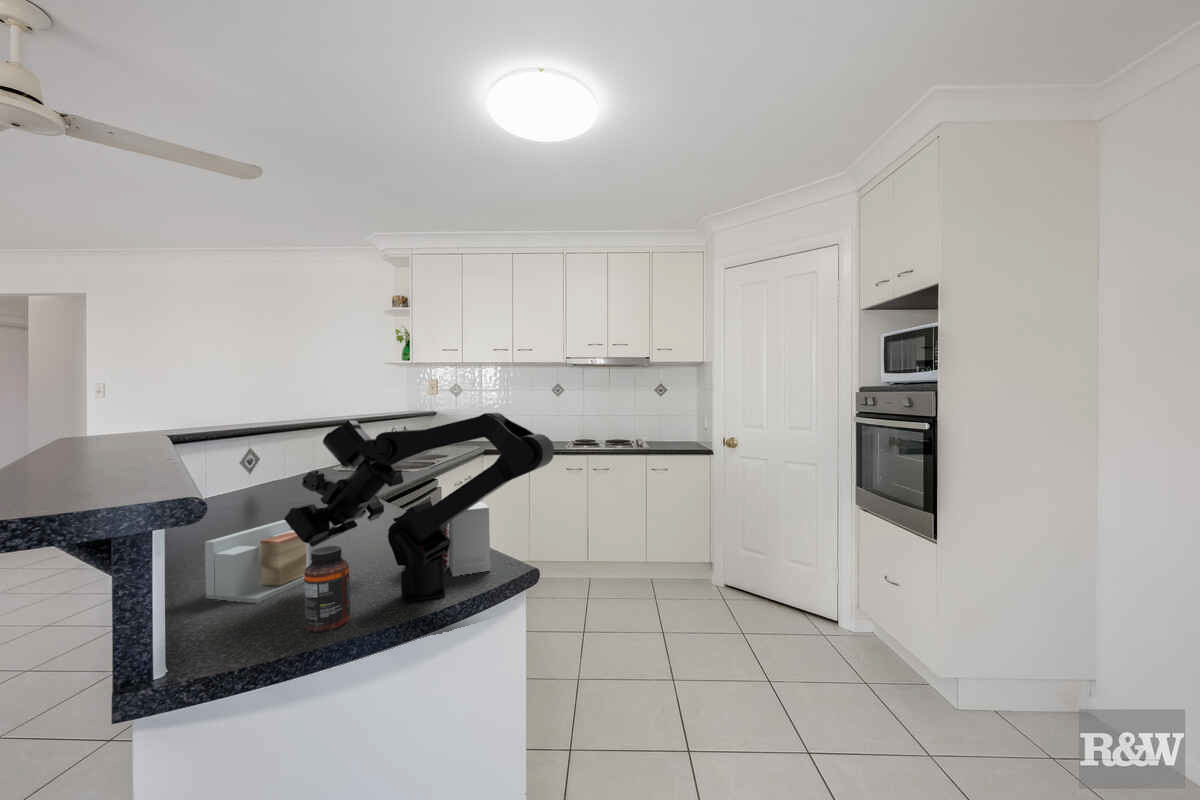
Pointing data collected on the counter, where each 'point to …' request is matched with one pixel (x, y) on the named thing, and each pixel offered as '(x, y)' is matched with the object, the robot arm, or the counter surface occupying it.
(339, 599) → the supplement bottle
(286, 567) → the push block
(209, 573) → the mount
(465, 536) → the supplement box
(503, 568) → the counter surface
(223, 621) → the counter surface
